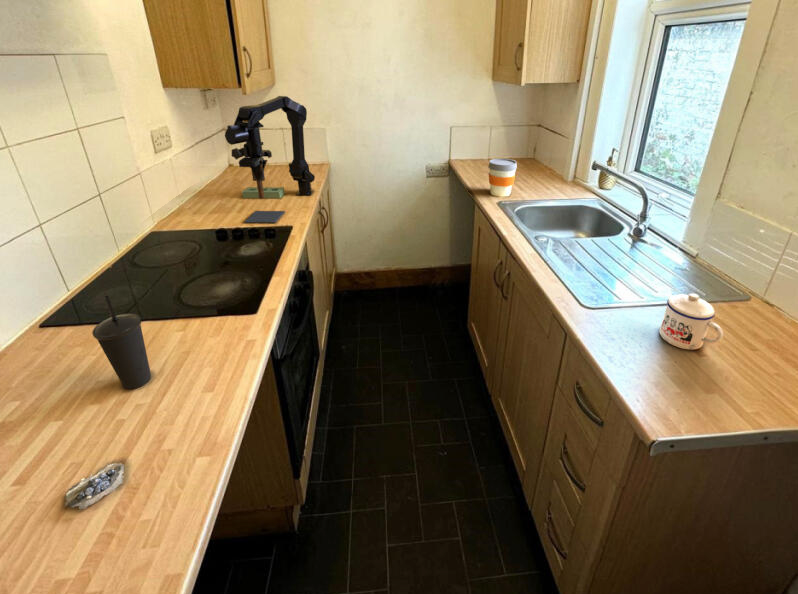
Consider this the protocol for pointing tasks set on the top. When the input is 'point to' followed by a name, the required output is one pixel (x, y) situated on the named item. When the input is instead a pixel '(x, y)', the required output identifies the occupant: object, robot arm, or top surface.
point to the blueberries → (95, 486)
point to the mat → (264, 217)
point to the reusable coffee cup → (501, 176)
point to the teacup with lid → (688, 322)
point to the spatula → (260, 184)
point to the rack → (268, 192)
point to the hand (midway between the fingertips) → (259, 179)
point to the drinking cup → (124, 347)
